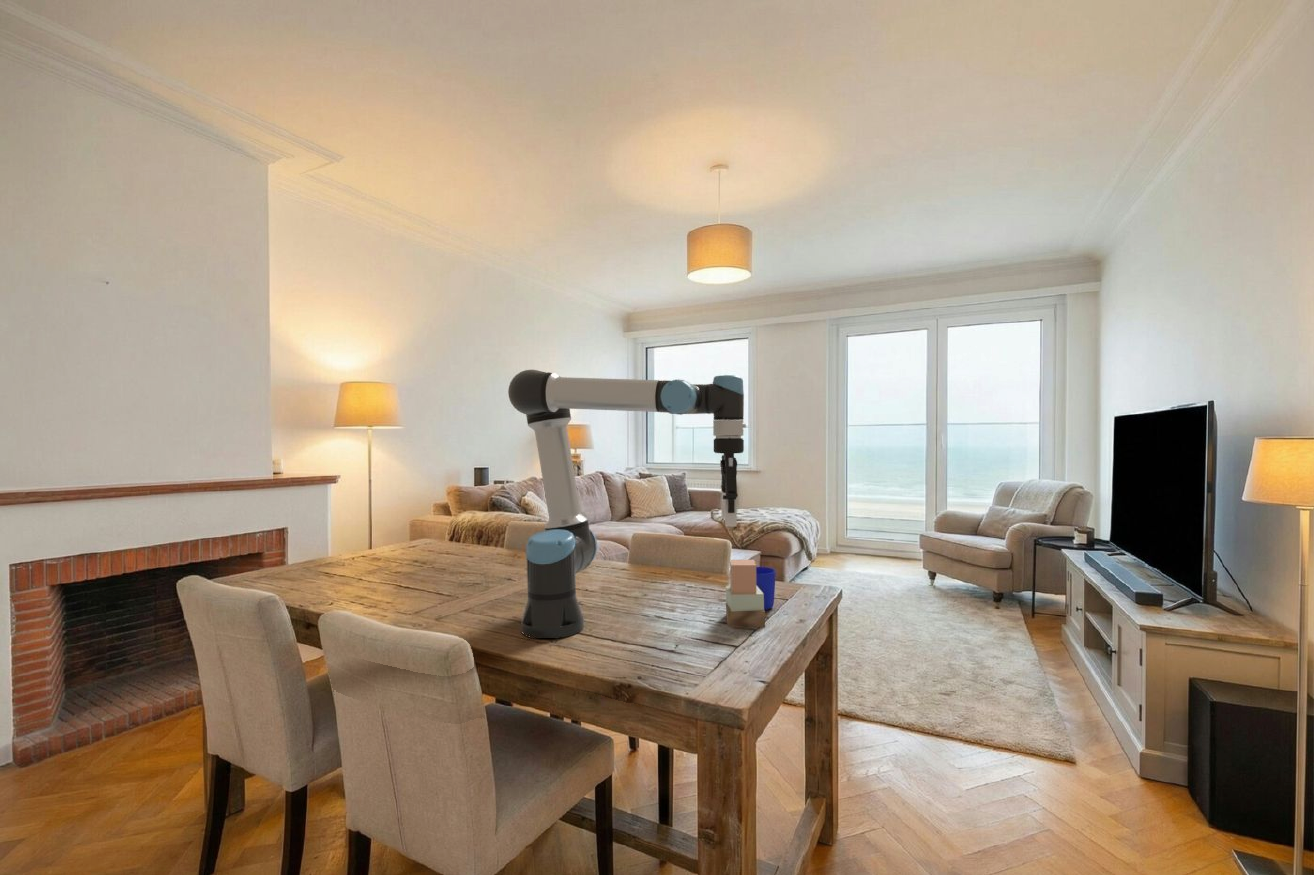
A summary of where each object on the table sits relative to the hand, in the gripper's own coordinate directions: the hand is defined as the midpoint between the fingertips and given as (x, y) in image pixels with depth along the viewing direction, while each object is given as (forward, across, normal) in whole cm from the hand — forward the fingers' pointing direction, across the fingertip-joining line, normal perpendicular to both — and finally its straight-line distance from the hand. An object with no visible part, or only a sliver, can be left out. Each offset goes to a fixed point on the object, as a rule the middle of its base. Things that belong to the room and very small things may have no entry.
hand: (728, 521), depth 151 cm
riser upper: (+21, -1, -4) cm, 21 cm away
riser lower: (+25, -1, -4) cm, 25 cm away
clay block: (+17, -1, -3) cm, 17 cm away
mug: (+25, +12, -9) cm, 29 cm away
